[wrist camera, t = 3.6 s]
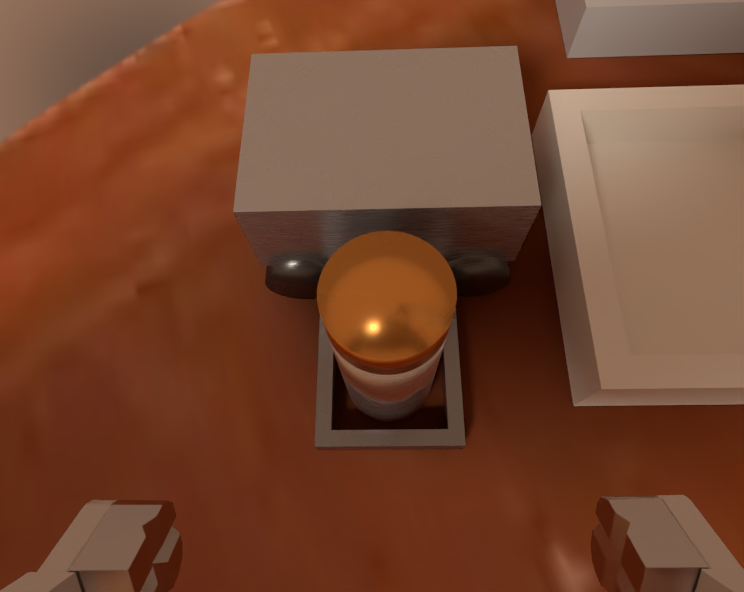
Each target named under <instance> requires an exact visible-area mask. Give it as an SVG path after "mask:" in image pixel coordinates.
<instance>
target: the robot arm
mask: <svg viewBox="0 0 744 592" xmlns="http://www.w3.org/2000/svg"><path fill="white" fill-rule="evenodd" d="M596 515H597V517H598V519H599V521H600V524H599V525H598V526H597V527H596V528H595V529H594V530H593V531H592V538H591V554H592V562H593V565H594V569H595V572H596V575H597V577H598V579H599V582H600V584H601V586H602V587H604V588H605V589H606V590H607V591H608V592H744V569H743V568H742V567H741V566H740V564H739V563H738V562H737V560H736V559H735V558H734V556H733V555H732V554H731V552H730V551H729V550H728V549H727V547H726V546H725V545H724V543H723V542H722V541H721V539H720V538H719V537H718V535H717V534H716V533H715V531H714V530H713V529H712V527H711V526H710V525H709V524H708V522H707V521H706V520H705V518H704V517H703V516H702V514H701V513H700V512H699V510H698V509H697V508H696V506H695V505H694V504H693V503H692V501H691V500H690V499H689V498H687V497H686V496H684V495H659V496H615V497H601V498H600V500H599V501H598V503H597V509H596ZM175 518H176V513H175V509H174V505H173V503H172V502H170V501H160V500H92V501H90V502H88V503H87V504H85V505H84V507H83V508H82V509H81V511H80V512H79V514H78V515H77V516H76V518H75V519H74V521H73V522H72V523H71V525H70V526H69V528H68V529H67V530H66V532H65V533H64V535H63V536H62V537H61V539H60V540H59V542H58V543H57V544H56V546H55V547H54V549H53V550H52V551H51V553H50V554H49V555H48V557H47V558H46V560H45V561H44V562H43V564H42V565H41V567H40V568H39V569H38V571H37V572H28V573H27V574H25V575H24V576H22V577H21V578H19V579H17V580H16V581H14V582H13V583H11V584H10V585H8V586H7V587H5V588H4V589H2V590H1V591H0V592H168V591H170V590H171V589H172V588H173V587H174V585H175V582H176V580H177V577H178V574H179V571H180V566H181V561H182V540H181V535H180V533H179V532H178V531H177V530H175V529H174V528H173V527H172V524H173V522H174V520H175Z"/></svg>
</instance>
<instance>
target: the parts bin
mask: <svg viewBox="0 0 744 592" xmlns="http://www.w3.org/2000/svg"><path fill="white" fill-rule="evenodd" d="M555 1H556V6H557V11H558V16H559V21H560V26H561V31H562V36H563V41H564V46H565V51H566V56H567V58H585V57H618V56H651V55H684V54H717V53H744V0H555Z"/></svg>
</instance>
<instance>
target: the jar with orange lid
mask: <svg viewBox="0 0 744 592" xmlns="http://www.w3.org/2000/svg"><path fill="white" fill-rule="evenodd" d="M456 301H457V288H456V282H455V278H454V275H453V272H452V270H451V268H450V266H449V264H448V263H447V261H446V260H445V258H444V257H443V256H442V255H441V253H440V252H439V251H438V250H436V249H435V248H434V247H433V246H432V245H430V244H429V243H428V242H426V241H424V240H422V239H421V238H419V237H416V236H414V235H411V234H407V233H404V232H398V231H376V232H371V233H367V234H364V235H361V236H358V237H356V238H354V239H352V240H350V241H348V242H347V243H345V244H344V245H343V246H341V247H340V248H339V249H338V250H337V251H336V252H335V253H334V254H333V255H332V256H331V257H330V259H329V260H328V261H327V263H326V265H325V266H324V268H323V270H322V273H321V275H320V278H319V282H318V287H317V303H318V309H319V312H320V316H321V319H322V321H323V324H324V327H325V330H326V332H327V335H328V338H329V341H330V343H331V346H332V349H333V352H334V355H335V357H336V360H337V363H338V366H339V368H340V371H341V374H342V377H343V379H344V382H345V385H346V388H347V390H348V393H349V396H350V398H351V400H352V402H353V403H354V405H355V406H356V407H357V408H358V409H359V410H360V411H361V412H362V413H363V414H365V415H366V416H368V417H370V418H372V419H375V420H378V421H383V422H395V421H400V420H403V419H406V418H408V417H410V416H412V415H413V414H415V413H416V412H417V411H418V410H419V409H420V408H421V407H422V406H423V405H424V403H425V402H426V400H427V398H428V396H429V393H430V390H431V386H432V383H433V380H434V377H435V373H436V370H437V367H438V364H439V360H440V357H441V354H442V351H443V347H444V344H445V341H446V337H447V334H448V331H449V328H450V324H451V321H452V318H453V315H454V311H455V308H456Z"/></svg>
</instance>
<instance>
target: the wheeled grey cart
mask: <svg viewBox="0 0 744 592" xmlns="http://www.w3.org/2000/svg"><path fill="white" fill-rule="evenodd" d="M540 207H541V199H540V193H539V186H538V180H537V173H536V167H535V160H534V154H533V147H532V141H531V134H530V128H529V121H528V115H527V108H526V102H525V95H524V89H523V82H522V76H521V69H520V63H519V56H518V50H517V46H495V47H462V48H430V49H398V50H366V51H334V52H302V53H270V54H252V56H251V64H250V73H249V81H248V90H247V98H246V107H245V115H244V124H243V132H242V141H241V149H240V158H239V166H238V175H237V183H236V192H235V200H234V209H233V213H234V215H235V217H236V219H237V221H238V222H239V224H240V226H241V228H242V230H243V232H244V234H245V236H246V238H247V240H248V242H249V243H250V245H251V247H252V249H253V251H254V253H255V255H256V257H257V259H258V261H259V263H260V264H261V266H267V268H266V279H265V284H266V286H267V287H268V288H269V289H270V290H271V291H273V292H275V293H277V294H279V295H282V296H286V297H291V298H298V299H314V298H317V287H318V282H319V278H320V275H321V273H322V270H323V268H324V266H325V265H326V263H327V261H328V260H329V259H330V257H331V256H332V255H333V254H334V253H335V252H336V251H337V250H338V249H339V248H340V247H341V246H343V245H344V244H345V243H347V242H348V241H350V240H352V239H354V238H356V237H358V236H361V235H364V234H367V233H371V232H376V231H398V232H404V233H407V234H411V235H414V236H416V237H419V238H421V239H422V240H424V241H426V242H428V243H429V244H430V245H432V246H433V247H434V248H435V249H436V250H438V251H439V252H440V253H441V255H442V256H443V257H444V258H445V260H446V261H447V263H448V264H449V266H450V268H451V270H452V272H453V275H454V278H455V282H456V288H457V296H478V295H484V294H488V293H492V292H495V291H498V290H500V289H502V288H503V287H505V286H506V285H507V284H508V283H509V282H510V280H511V276H510V267H509V262H511V261H515V259H516V257H517V255H518V253H519V251H520V248H521V246H522V244H523V242H524V240H525V238H526V236H527V234H528V232H529V230H530V228H531V226H532V224H533V222H534V220H535V218H536V216H537V213H538V211H539V209H540ZM441 359H442V376H443V393H444V411H445V428H446V429H404V430H334V410H335V370H336V357H335V355H334V352H333V349H332V346H331V343H330V341H329V338H328V335H327V332H326V330H325V327H324V324H323V321H322V319H321V316H320V322H319V348H318V374H317V400H316V427H315V447H316V448H317V449H318V450H359V449H462V448H464V447H465V446H466V443H465V429H464V415H463V401H462V387H461V373H460V359H459V345H458V331H457V317H456V308H455V311H454V315H453V318H452V321H451V324H450V328H449V331H448V334H447V337H446V341H445V344H444V347H443V351H442V354H441Z"/></svg>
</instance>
